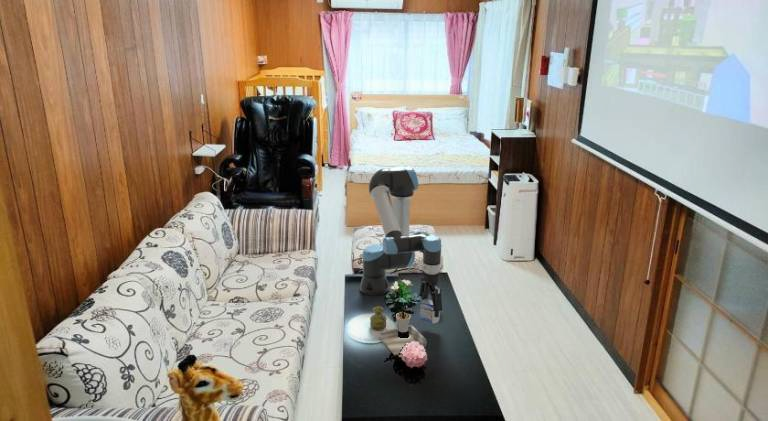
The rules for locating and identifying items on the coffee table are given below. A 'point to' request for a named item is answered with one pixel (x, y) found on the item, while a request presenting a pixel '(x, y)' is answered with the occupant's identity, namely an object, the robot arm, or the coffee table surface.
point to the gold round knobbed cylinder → (378, 319)
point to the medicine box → (427, 310)
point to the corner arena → (400, 339)
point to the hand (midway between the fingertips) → (430, 317)
